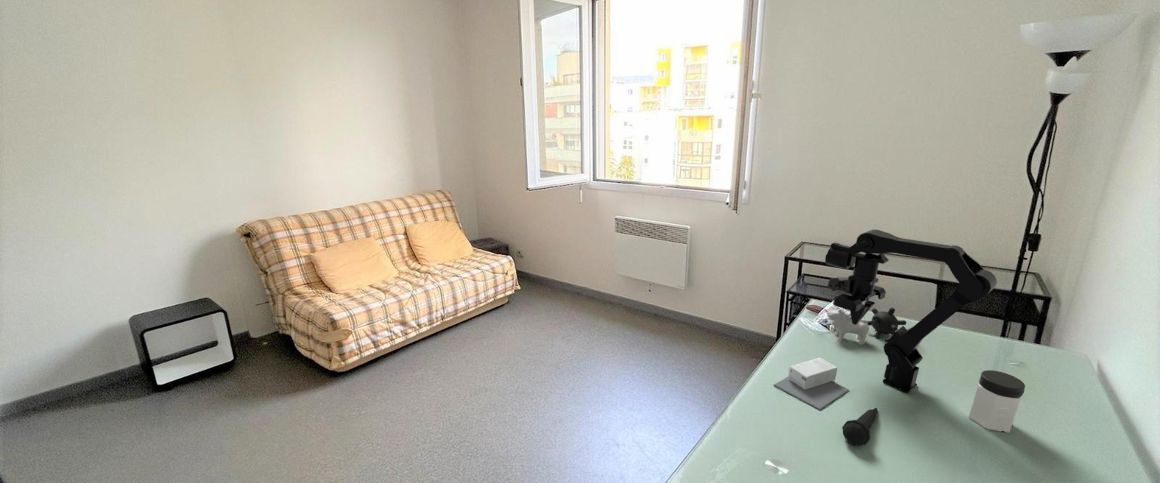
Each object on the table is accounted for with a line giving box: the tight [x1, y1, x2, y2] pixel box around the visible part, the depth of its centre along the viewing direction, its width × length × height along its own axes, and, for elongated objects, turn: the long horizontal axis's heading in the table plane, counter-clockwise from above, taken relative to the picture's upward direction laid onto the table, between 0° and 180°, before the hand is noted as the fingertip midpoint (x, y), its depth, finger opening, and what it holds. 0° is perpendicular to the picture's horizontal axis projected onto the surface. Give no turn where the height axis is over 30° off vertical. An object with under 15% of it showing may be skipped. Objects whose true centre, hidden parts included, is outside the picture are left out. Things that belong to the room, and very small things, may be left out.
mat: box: [773, 376, 850, 411], centre depth 131 cm, size 13×15×1 cm
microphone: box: [841, 407, 878, 446], centre depth 115 cm, size 6×6×20 cm
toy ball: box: [867, 307, 907, 339], centre depth 161 cm, size 11×11×12 cm
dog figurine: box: [826, 306, 870, 345], centre depth 158 cm, size 5×13×11 cm, turn 75°
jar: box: [968, 369, 1026, 433], centre depth 117 cm, size 9×8×12 cm
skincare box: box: [787, 357, 838, 390], centre depth 134 cm, size 6×4×12 cm
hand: (854, 323), depth 140 cm, fingers closed
